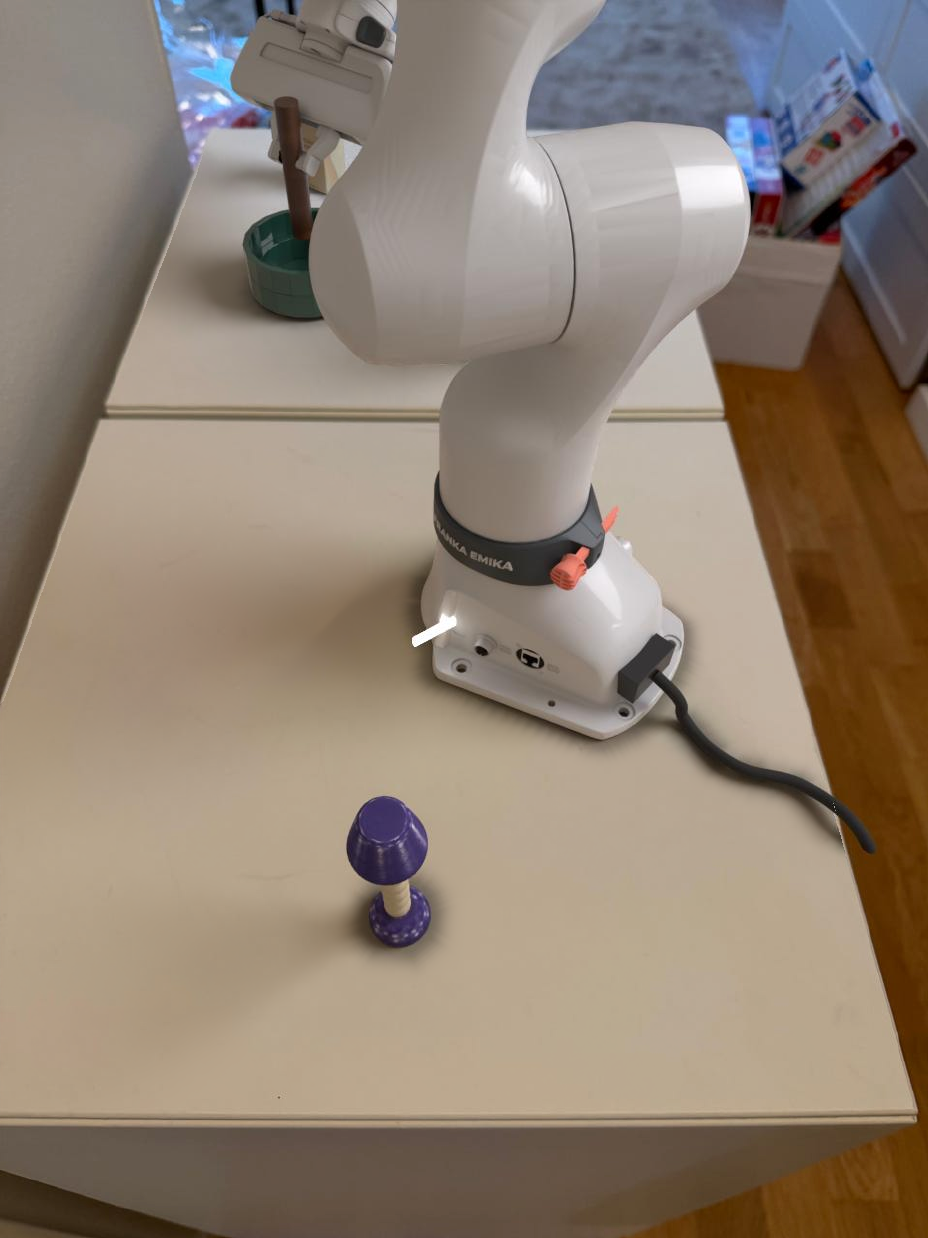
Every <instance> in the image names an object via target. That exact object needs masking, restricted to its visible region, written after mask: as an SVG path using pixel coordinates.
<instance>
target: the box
mask: <svg viewBox="0 0 928 1238" xmlns="http://www.w3.org/2000/svg"><path fill="white" fill-rule="evenodd" d="M301 128H302V136H303V145H304V151H305V152H307V151H308V150H309V149H310V148H311V147H312V145H313V144H314V143H315V142H316V141H317V140H318V139H319V138H318V137H317V136H316V135H315V134H316V132H317V129H315V128H312V127H309V126H307V125H304V124H301ZM307 153H308V152H307ZM346 170H347V169H346V155H345V140H344V139H341V138H340V140H339V143H338V145H337V148H336V149H335V150H334V151H333V152H332V153H331V154H330V155H329V156H327V157H326V158H325V159H324V160H323V161H321V162H320V165H319V167H318V170H317V172H316V175H315V176H314V177H311V176H309V175H307V178H308V186H309V189H313V190H315V191H317V192H319V193H321V194H325V195H327V194H328V192H329V191H330V189H331V188H332V186H333V185H334V184H335V183H336V182H337V181H338V180H339V178H340V177H341V176H342V175H343V174H344V173H345V172H346Z"/></svg>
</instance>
